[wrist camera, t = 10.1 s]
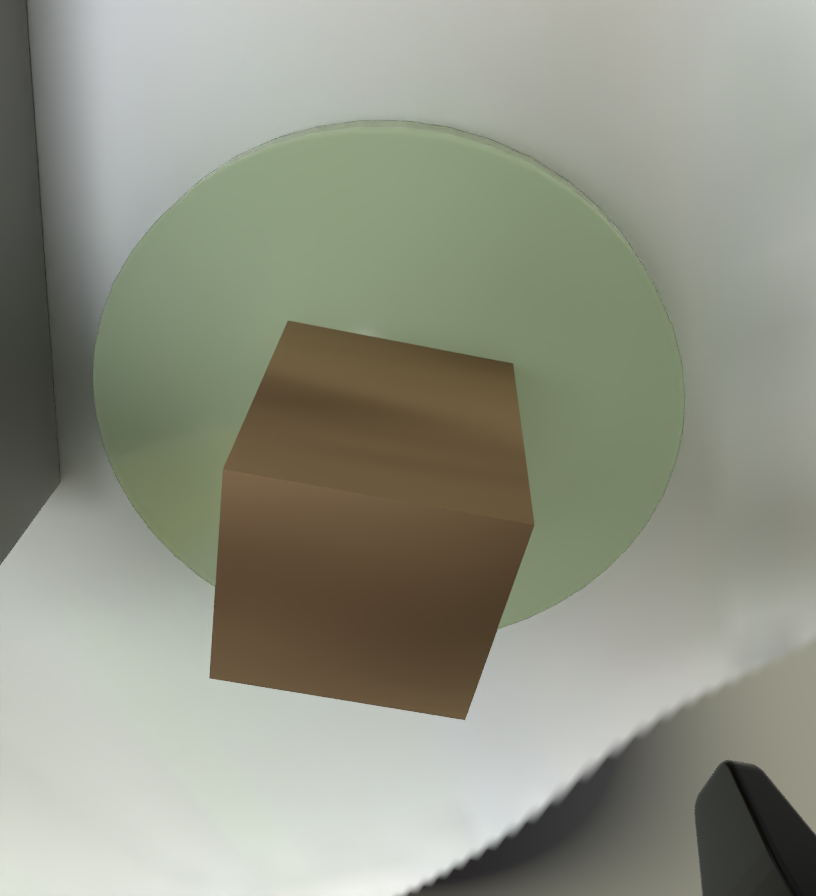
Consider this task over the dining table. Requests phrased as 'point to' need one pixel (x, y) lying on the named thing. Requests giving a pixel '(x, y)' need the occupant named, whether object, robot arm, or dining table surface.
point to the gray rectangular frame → (22, 299)
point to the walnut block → (370, 522)
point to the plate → (396, 327)
